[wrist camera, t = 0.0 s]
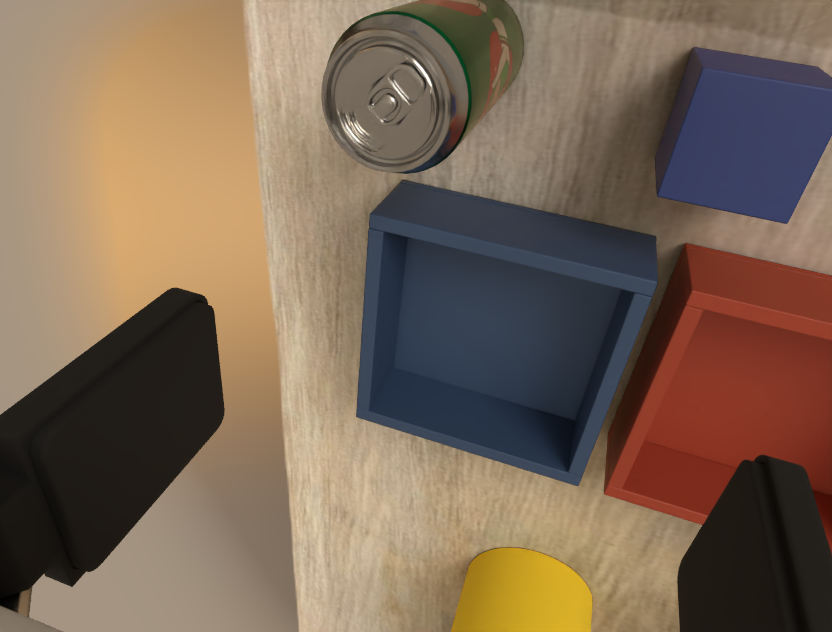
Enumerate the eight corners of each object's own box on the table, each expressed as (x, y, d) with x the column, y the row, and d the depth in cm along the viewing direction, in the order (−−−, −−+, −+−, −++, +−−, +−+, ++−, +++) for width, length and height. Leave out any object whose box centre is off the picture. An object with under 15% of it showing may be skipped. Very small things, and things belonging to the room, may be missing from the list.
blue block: (692, 46, 25) (702, 67, 21) (819, 67, 24) (854, 92, 20) (654, 159, 28) (656, 197, 24) (766, 182, 27) (787, 224, 23)
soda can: (400, 41, 29) (280, 93, 19) (479, -42, 26) (384, -28, 17) (466, 123, 30) (383, 212, 20) (548, 53, 27) (497, 118, 18)
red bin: (685, 242, 30) (691, 290, 26) (994, 311, 27) (1056, 377, 23) (607, 434, 37) (603, 494, 33) (842, 503, 35) (868, 577, 31)
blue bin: (402, 179, 33) (369, 213, 29) (656, 235, 30) (658, 282, 26) (384, 369, 40) (355, 417, 36) (585, 428, 38) (578, 486, 34)
